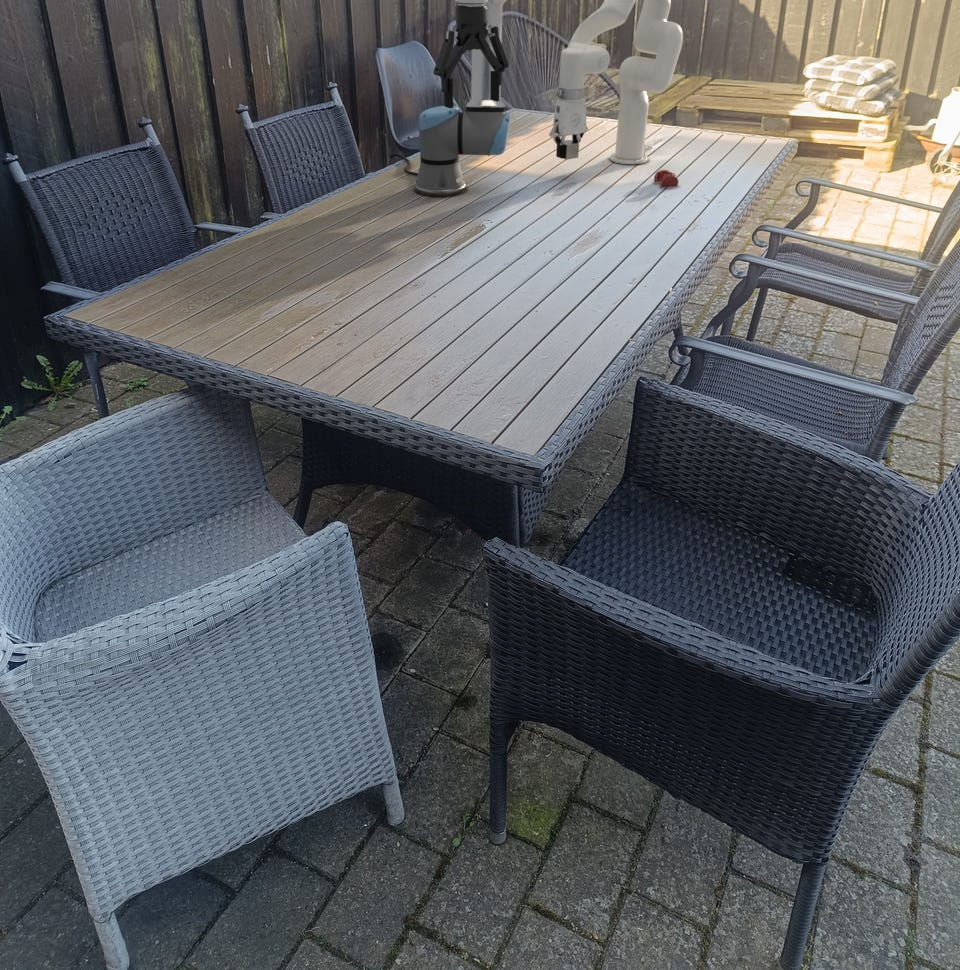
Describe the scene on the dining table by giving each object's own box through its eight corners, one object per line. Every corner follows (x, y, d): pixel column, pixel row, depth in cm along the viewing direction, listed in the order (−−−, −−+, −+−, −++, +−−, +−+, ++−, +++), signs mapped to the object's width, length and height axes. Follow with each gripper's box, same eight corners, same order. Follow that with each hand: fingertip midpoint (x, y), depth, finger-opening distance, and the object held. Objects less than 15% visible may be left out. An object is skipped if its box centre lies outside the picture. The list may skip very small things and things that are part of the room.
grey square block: (566, 159, 263) (567, 145, 261) (556, 156, 267) (556, 141, 264) (578, 157, 266) (579, 143, 263) (567, 154, 269) (568, 139, 266)
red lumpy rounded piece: (669, 166, 264) (680, 173, 258) (668, 179, 266) (679, 187, 260) (653, 168, 263) (663, 175, 257) (652, 181, 265) (662, 189, 259)
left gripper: (434, 9, 185) (437, 113, 197) (524, 2, 197) (522, 100, 209) (416, 6, 190) (420, 107, 202) (505, -1, 202) (504, 95, 214)
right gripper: (557, 99, 249) (553, 163, 260) (600, 93, 257) (595, 155, 267) (541, 94, 254) (538, 157, 265) (584, 88, 262) (579, 150, 272)
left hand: (472, 104), depth 206 cm, fingers open, 13 cm apart
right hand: (567, 155), depth 266 cm, fingers closed on grey square block, 4 cm apart
